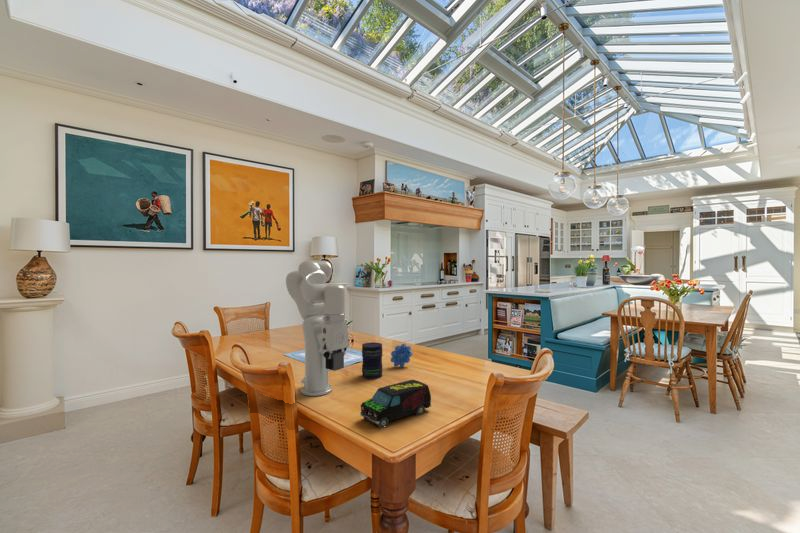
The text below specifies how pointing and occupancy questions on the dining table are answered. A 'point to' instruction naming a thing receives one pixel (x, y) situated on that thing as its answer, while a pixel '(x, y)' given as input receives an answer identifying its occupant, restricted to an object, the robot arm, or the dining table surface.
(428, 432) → the dining table surface
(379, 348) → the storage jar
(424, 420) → the dining table surface
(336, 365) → the grey block
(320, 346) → the robot arm
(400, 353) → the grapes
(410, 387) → the toy van
